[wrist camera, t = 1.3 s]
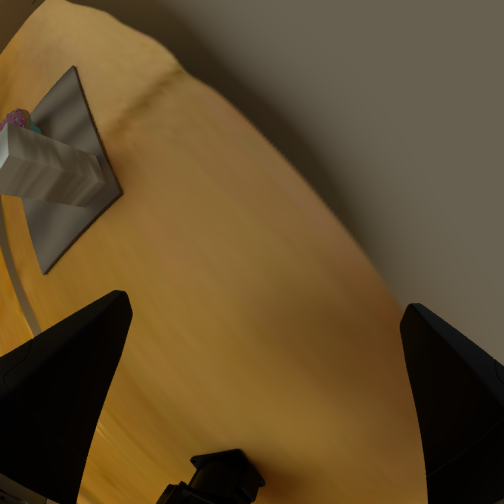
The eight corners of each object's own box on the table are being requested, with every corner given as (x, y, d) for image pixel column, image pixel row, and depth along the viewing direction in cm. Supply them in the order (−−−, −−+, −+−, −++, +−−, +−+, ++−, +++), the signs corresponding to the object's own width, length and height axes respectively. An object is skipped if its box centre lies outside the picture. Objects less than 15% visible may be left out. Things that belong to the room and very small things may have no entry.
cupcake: (56, 116, 27) (-6, 88, 15) (36, 175, 27) (-33, 159, 15) (30, 120, 28) (-24, 98, 16) (13, 171, 29) (-44, 158, 17)
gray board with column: (122, 193, 25) (17, 164, 12) (45, 274, 27) (-38, 282, 14) (74, 66, 27) (20, 30, 14) (15, 138, 29) (-39, 120, 17)
